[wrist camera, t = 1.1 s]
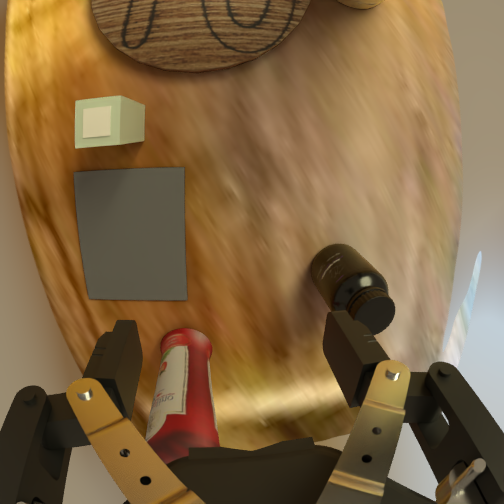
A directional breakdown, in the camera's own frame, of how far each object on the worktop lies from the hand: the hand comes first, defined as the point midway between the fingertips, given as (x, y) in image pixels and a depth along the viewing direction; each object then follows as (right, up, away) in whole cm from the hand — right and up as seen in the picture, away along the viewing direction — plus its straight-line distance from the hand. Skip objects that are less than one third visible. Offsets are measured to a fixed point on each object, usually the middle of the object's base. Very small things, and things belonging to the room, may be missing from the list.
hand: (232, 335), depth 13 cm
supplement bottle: (+11, +1, +28) cm, 30 cm away
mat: (-13, +5, +23) cm, 27 cm away
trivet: (-5, +34, +13) cm, 37 cm away
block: (-13, +17, +18) cm, 28 cm away
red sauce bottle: (-8, -9, +29) cm, 31 cm away
